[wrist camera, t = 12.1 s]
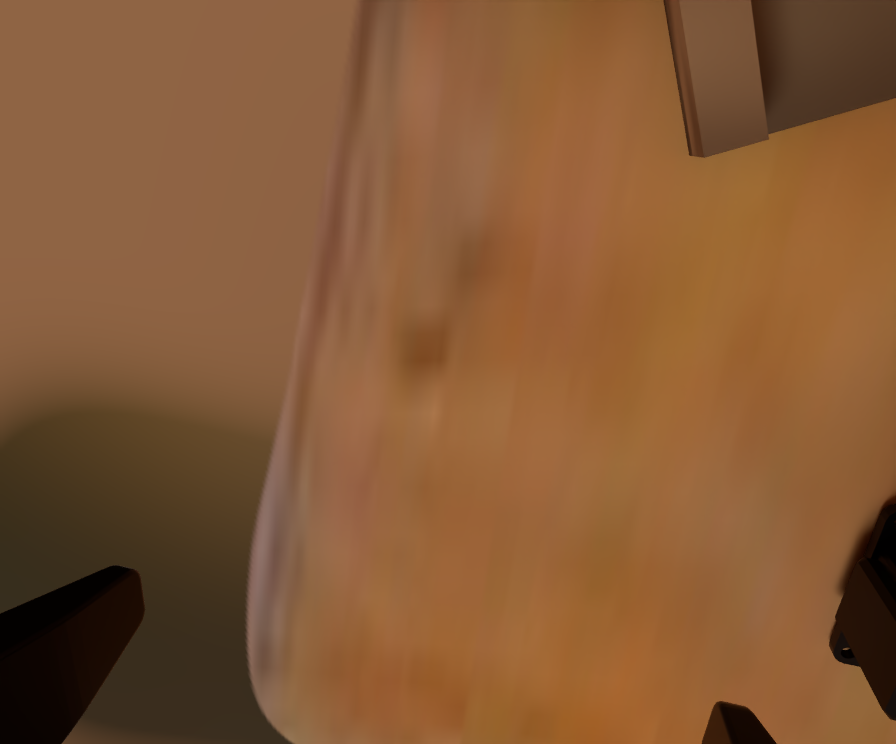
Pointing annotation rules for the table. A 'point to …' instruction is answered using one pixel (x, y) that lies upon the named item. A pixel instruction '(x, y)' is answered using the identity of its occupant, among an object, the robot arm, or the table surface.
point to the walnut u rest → (776, 64)
